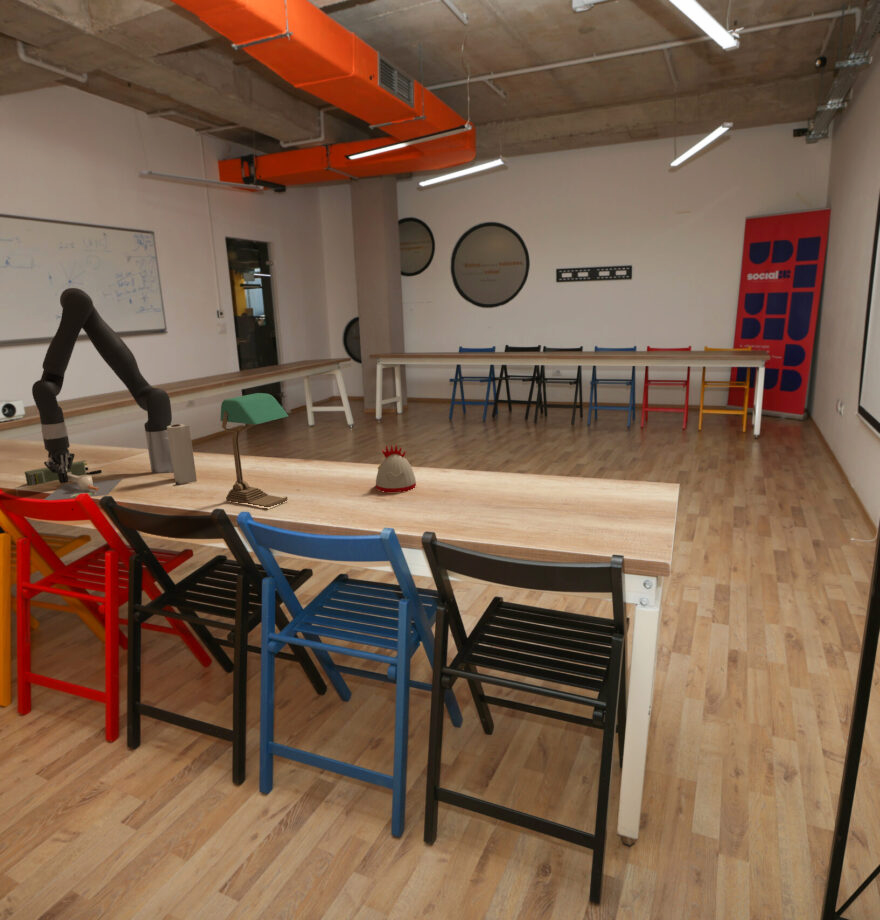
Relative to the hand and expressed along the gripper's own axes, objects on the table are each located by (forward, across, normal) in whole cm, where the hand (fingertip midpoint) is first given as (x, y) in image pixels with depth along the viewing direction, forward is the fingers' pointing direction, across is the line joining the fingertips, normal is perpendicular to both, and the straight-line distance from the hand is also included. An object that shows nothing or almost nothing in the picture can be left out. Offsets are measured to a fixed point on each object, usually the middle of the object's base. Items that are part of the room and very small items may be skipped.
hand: (64, 482), depth 221 cm
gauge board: (+3, +2, +9) cm, 10 cm away
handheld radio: (+4, -13, -9) cm, 16 cm away
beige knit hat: (+2, -5, +120) cm, 120 cm away
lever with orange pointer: (+1, +1, +8) cm, 8 cm away
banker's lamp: (+3, +12, +77) cm, 78 cm away
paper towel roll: (+3, -11, +40) cm, 41 cm away
